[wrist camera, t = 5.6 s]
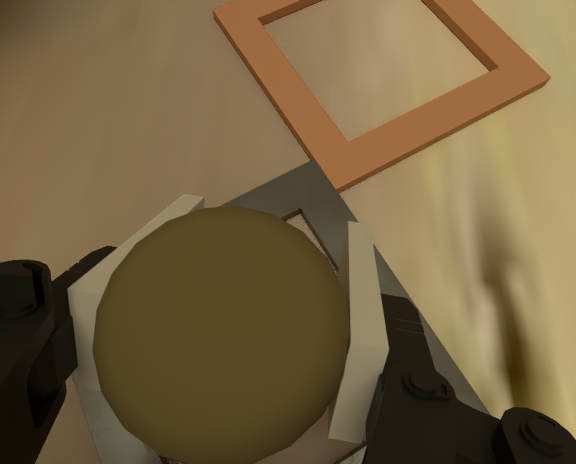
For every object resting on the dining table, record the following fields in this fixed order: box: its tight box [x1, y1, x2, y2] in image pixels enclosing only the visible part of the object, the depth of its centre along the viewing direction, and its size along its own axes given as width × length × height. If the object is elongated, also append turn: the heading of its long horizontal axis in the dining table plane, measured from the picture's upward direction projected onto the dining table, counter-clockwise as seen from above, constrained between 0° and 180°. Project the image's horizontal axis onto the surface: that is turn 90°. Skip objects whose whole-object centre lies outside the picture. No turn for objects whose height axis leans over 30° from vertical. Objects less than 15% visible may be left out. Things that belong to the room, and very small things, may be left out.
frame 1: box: [212, 0, 551, 193], centre depth 23 cm, size 14×14×1 cm
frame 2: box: [71, 159, 491, 464], centre depth 17 cm, size 14×14×1 cm
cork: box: [92, 206, 350, 464], centre depth 12 cm, size 6×6×11 cm
